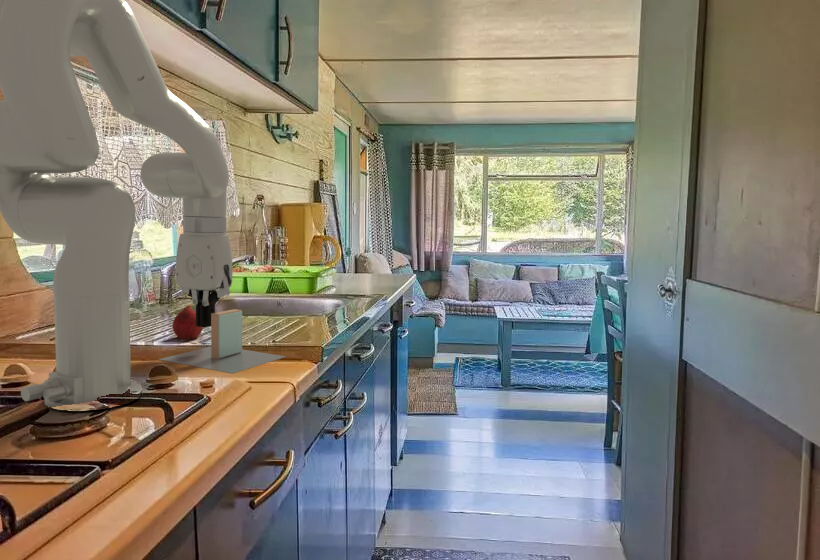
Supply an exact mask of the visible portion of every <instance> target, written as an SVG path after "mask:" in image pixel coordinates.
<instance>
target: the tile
mask: <svg viewBox="0 0 820 560" xmlns="http://www.w3.org/2000/svg"><path fill="white" fill-rule="evenodd" d="M210 328H211V329H210V331H211V332H210V333H211V334H210V335H211V336H210V337H211V339H210V342H211V344H210V346H211V358H217V359H219V358H223V357H226V356H230V355H234V354H237V353H241V352H242V349H243V311H242V309H236V308H234V309H228V310H223V311H218V312H215V313H212V314H211V326H210Z"/></svg>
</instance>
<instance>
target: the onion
mask: <svg viewBox="0 0 820 560" xmlns="http://www.w3.org/2000/svg"><path fill="white" fill-rule="evenodd" d="M172 321H173V322H172V331H173V333H174V334H175V336H176V337H177V338H178V339H180V340H194V339H197V338H198V337H199V336H200V335H201V333H202V331H203V328H204V327H197V326H196V310H193V306H192V304H186V306H185V307H184V308H183V309H182V310H181V311H179V312H178V313H177V315H176V316H175V317H174V320H172Z"/></svg>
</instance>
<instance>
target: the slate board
mask: <svg viewBox="0 0 820 560" xmlns="http://www.w3.org/2000/svg"><path fill="white" fill-rule="evenodd" d="M286 357H287V356H284V355H279V354H272V353H269V352H268V353H266V352H261V351H254V350H248V349H243V348H242V352H241V353H237V354H234V355H230V356H226V357H223V358H219V359H217V358H211V345H210V346H207V347H203V348H199V349H195V350H191V351H187V352H183V353H178V354H174V355H171V356H167V357H163V358H158V359H157V360H159V361H164V362H169V363H174V364H179V365H186V366H190V367H197V368H201V369H207V370H212V371H217V372H222V373H228V374H232V375H233V374H237V373H239V372H242V371H243V372H244V371H245V370H249V369H252V368H254V367H258V366H261V365H266V364H268V363H271V362H274V361H277V360H280V359H283V358H286Z"/></svg>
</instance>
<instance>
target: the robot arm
mask: <svg viewBox="0 0 820 560" xmlns="http://www.w3.org/2000/svg"><path fill="white" fill-rule="evenodd" d="M73 57H85V58H86V59H87V61H88V62H89V65H90V67H91V68H92V69H93V72H94V74H95V76H96V77H97V80H98V81H99V83H100V85H101V87H102V90H104V93H105V95H106V97H107V98H108V101H109V102H110V105H111V106H112V108H113V109H114V111H116V112H117V113H118V114H119V115H120V116H123V117H125V118H127V119H129V120H130V121H132V122H135V123H137V124H140V125H142V126H144V127H147V128H149V129H151V130H154V131H156V132H159V134H160V133H161V134H163V135H164V136H165V137H167V138H169V139H170V140H172V141H173V142H174V143H176V144H177V145H178V146H179V147H180V148H181V149H182V150H183V151H184V152H160V153H155V154H153V155H151V156H148V157H147V158H146V159H145V160H144V162H143V163H142V165H141V168H140V180H141V183H142V184H143V186H144V187H145V189H146V190H147V191H148V192H150V193H151V194H153V195H155V196H157V197H161V198H168V199H169V198H170V199H172V198H174V199H182V220H181V226H182V233H180V234H179V238H178V242H177V248H176V257H175V258H176V260H175V283H176V285H177V286H178V287H180V288H181V292H182V293H185V294H187V295H189V296H190V297H191V299H192V303H193V305H194V306H195V312H196V326H197V327H203V328H207V327H208V328H209V327H211V314H212V313H216V305H218V303H219V300H221V298H225V297H229V296H230V295H231V291H230V287H232V284H233V277H234V276H233V273H234V272H233V258H232V257H233V256H232V248H231V242H230V241H231V240H230V237H229V235H228V234H227V188H228V186H229V179H230V178H229V176H230V174H229V169H228V168H229V167H228V165H227V161H226V158H225V155H224V153H223V151H222V148H221V146H220V143H219V141H218V139H217V136H216V134H215V132H214V131H213V129H212V128H211V127H210V126H209V124H208V123H207V122H206V121H205V120H204V119H203V118H202V117H201V116H200V115H199V114H198V113H197V112H195V110H194V109H192V108H191V107H190V106H189V105H188V104H187V103H186V102H185V101H183V100H182V99H180V98H179V97H177V96H176V95H175V94H174V93H172V92H171V91H170V89H169V88H168V87H167V84H166V82H165V80H164V77H163V75H162V74H161V71H160V68H159V66H158V64H157V63H156V61H155V58H154V56H153V54H152V52H151V49H150V47H149V44H148V43H147V41H146V38H145V36H144V34H143V32H142V30H141V27H140V24H139V23H138V20H137V18H136V16H135V13H134V11H133V10H132V8H131V7H130V5H129V4H128V2H127V1H126V0H0V91H1V93H2V96H3V99H2V100H0V214H1V216H2V218H3V219H4V222H5V223H6V224H7V226H8V227H9V228H10V230H11V231H12V232H13V233H14V234H15V235H16V236H18V237H19V238H21V239H22V240H25V241H27V242H29V243H35V244H42V245H43V244H44V245H60V246H61V245H62V246H65V247H64V249H63V252H62V253H61V255H60V257H59V259H58V261H57V264H56V266H55V268H54V269H55V270H54V274H53V279H52V281H53V283H52V284H53V285H52V286H53V287H52V288H53V289H52V290H53V292H52V293H53V307H54V309H53V310H54V311H53V312H54V339H55V341H54V342H55V371H51V372H48V379H45V380H44V381H43V383H39V384H38V383H36V384H31V385H27V386H23V387H22V388H21V390H20V396H21V398H22V400H23V401H24V402H30V401H33V400H36V399H41V398H43V399H44V405H45V406H46V407H47V406H48V407H47V408H49V407H56V406H62V405H72V404H80V403H86V402H92V401H95V400H97V398H98V397H101V396H106V395H109V394H123V393H125V392H126V391H127V390H128V389H130V393H132V394H140V393H142V394H143V386H142V385H141V384H140V383H138V382H134V381H132V377H131V376H132V375H131V367H132V364H131V324H130V323H131V321H130V320H131V318H130V317H131V316H130V281H129V280H130V279H129V278H130V277H129V275H130V274H129V273H130V272H129V271H130V270H129V269H130V253H131V252H130V251H131V244H132V239H133V234H134V229H135V224H136V206H135V202H134V199H133V198H132V195H131V194H130V193H129V191H128V190H127V189H126V188H125V187H124V186H122V185H120V184H119V183H117V182H115V181H112V180H109V179H105V178H100V177H89V176H88V177H85V176H83V177H82V176H64V177H63V176H61V177H60V176H58V177H57V176H54V177H53V176H52V174H69V173H72V174H73V173H79V172H82V171H85V170H88V169H90V167H92V166H94V164H95V163H96V162H97V160H98V157H99V153H100V146H99V145H100V144H99V140H98V137H97V133H96V130H95V127H94V126H95V125H94V124H93V121H92V118H91V116H90V113H89V111H88V108H87V105H86V102H85V99H84V97H83V94H82V91H81V89H80V86H79V83H78V80H77V77H76V75H75V74H76V73H75V70H74V68H73V65H72V59H71V58H73Z"/></svg>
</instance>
